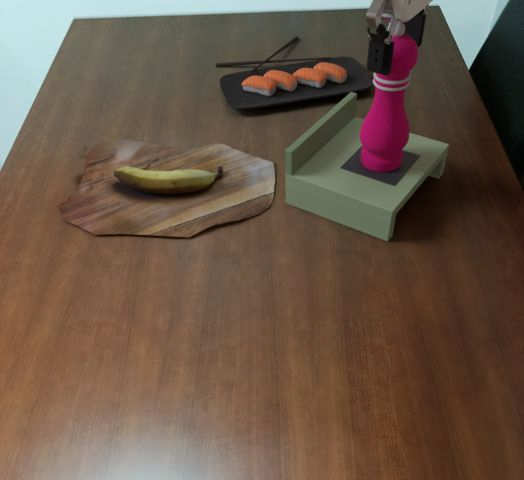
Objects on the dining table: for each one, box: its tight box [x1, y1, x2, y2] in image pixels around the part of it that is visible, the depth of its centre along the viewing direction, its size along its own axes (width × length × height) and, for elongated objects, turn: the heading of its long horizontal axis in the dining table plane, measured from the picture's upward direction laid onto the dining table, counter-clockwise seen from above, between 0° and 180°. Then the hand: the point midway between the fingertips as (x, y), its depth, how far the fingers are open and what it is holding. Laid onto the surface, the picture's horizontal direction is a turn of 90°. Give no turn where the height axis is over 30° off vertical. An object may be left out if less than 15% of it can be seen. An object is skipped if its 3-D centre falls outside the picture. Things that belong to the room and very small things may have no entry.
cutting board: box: [55, 138, 276, 238], centre depth 96 cm, size 35×27×4 cm
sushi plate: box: [215, 35, 374, 111], centre depth 119 cm, size 29×30×4 cm
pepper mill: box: [360, 21, 419, 172], centre depth 82 cm, size 7×7×20 cm
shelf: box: [284, 92, 450, 242], centre depth 91 cm, size 18×20×10 cm
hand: (394, 57), depth 77 cm, fingers open, 8 cm apart
